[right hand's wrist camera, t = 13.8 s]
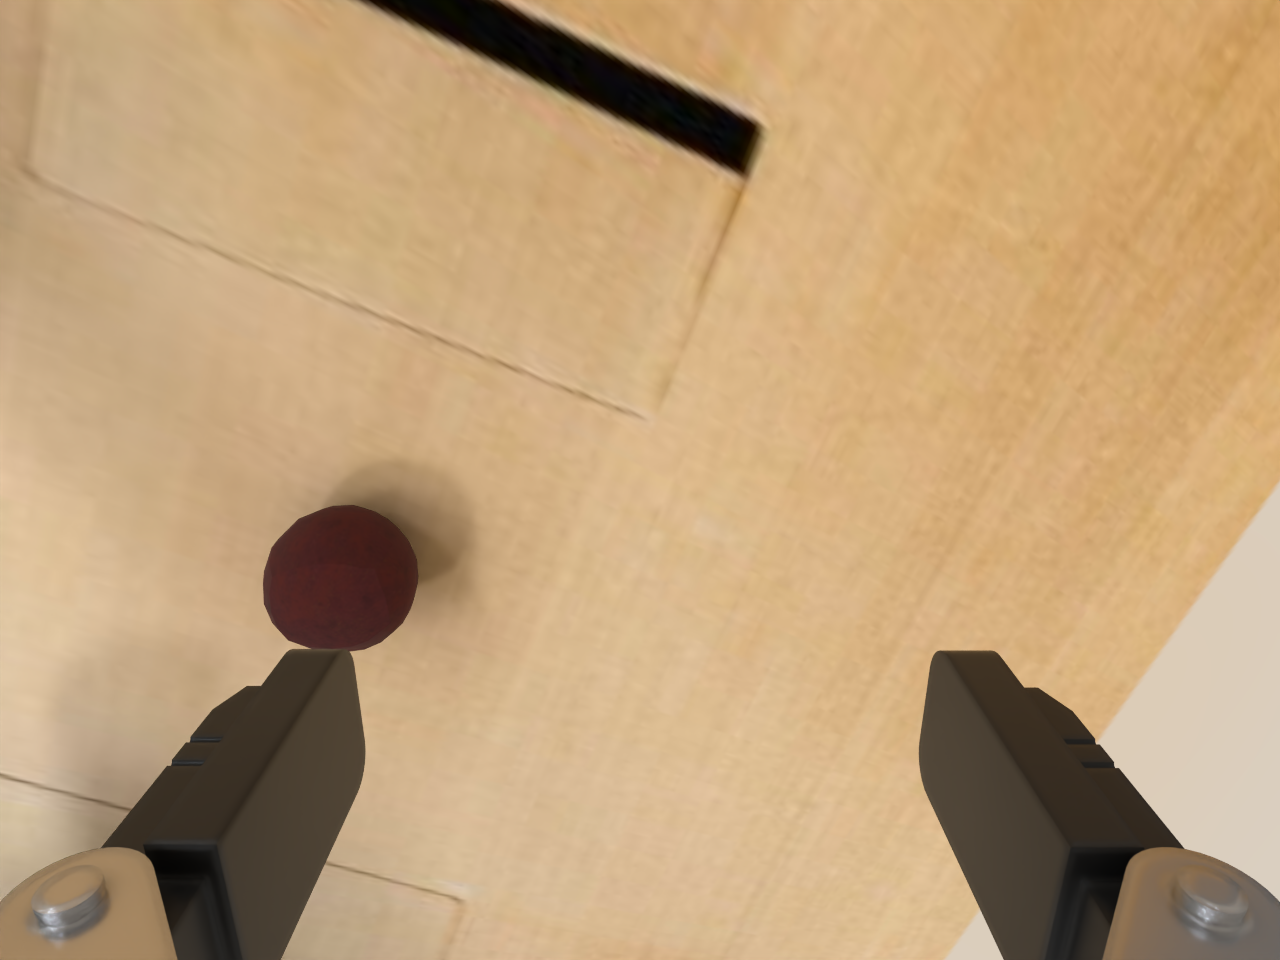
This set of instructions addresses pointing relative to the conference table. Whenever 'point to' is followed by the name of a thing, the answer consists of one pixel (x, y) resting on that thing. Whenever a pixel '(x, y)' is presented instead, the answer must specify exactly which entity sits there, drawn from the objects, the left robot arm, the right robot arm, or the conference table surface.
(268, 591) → the dark red ball
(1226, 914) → the right robot arm
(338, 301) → the conference table surface
